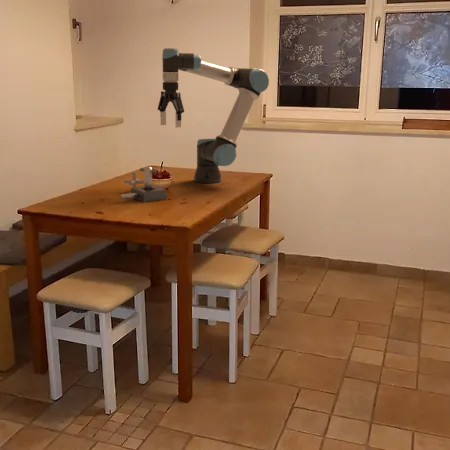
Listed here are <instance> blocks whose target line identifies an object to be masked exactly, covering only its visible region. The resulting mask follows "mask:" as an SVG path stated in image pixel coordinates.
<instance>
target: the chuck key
mask: <svg viewBox="0 0 450 450" xmlns="http://www.w3.org/2000/svg"><path fill="white" fill-rule="evenodd" d="M139 171H140V172H143V175H144V176H143V180H144V187H145V190H152V186H153V173H157V169H156V168H155V169H154V168H153V167H152V166H143V167H140V168H139Z"/></svg>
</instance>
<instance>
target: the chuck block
mask: <svg viewBox="0 0 450 450" xmlns="http://www.w3.org/2000/svg"><path fill="white" fill-rule="evenodd" d="M120 199H121V200H122V201H123V200H130V199H134V200H137V201H140V202H143V203H148V202H154V201H163V200H167V189H165V188H162V187H159V186H156V185H152V190H145V186H139V187H137V186H136V188H133V187H131V188H130V192H129V193H122V194H120Z"/></svg>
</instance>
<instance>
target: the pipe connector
mask: <svg viewBox="0 0 450 450" xmlns="http://www.w3.org/2000/svg"><path fill="white" fill-rule="evenodd" d="M131 172H132V177H131V178H132V179H131V178H130V179H127V178H125V179H124V181H123V182H124V184H129V186H132V188H136V187H137V184H138V185H139V184H140V185H145V183H144V179H143V180H141V179H140V178H137V171H131Z"/></svg>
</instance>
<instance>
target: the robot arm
mask: <svg viewBox="0 0 450 450" xmlns="http://www.w3.org/2000/svg"><path fill="white" fill-rule="evenodd" d="M161 57H162V58H161V59H162V90H163V91H160V98H159V102H158V106H157V110H158V111H159V112H160V126H167V111H166V109H167V108H168V105H169V103H171V104H172V106H173V108H174V111H175V118H174V119H175V128H182V114H183V113H185V108H184V105H183V102H182V101H183V100H182V96H181V95H182V94H181V92H177V91H178V90H179V82H178V81H179V71H181V72H182V71H183V72H186V73H189V74H193V75H198V76H201V77H204V78H207V79H212V80H215V81H219V82H222V83H224V85H226V86H230V87H233V88H234V89H237V90H238V92H239V93H238V95H237V97H236V99H235V101H234V104H233V106H232V109H231V111H230V113H229V115H228V117H227V120H226V121H225V124H224V126H223V128H222V131H221V133H220V134H219V135H217V136H216V137H215V138H200V139H198V140H197V142H196V169H195V172H194V175H193V182H195V183H202V184H216V183H220V182H222V176H221V175H222V174H221V171H220V168H219V166H220V167H228V166H230V165H232V164H233V163H234V162H235V160H236V158H237V150H236V148H237V146H238V145H237V142H236V141H237V140H238V136H239V135H240V133H241V130H242V128H243V126H244V124H245V121H246V119H247V117H248V115H249V113H250V110H251V108H252V106H253V103H254V101H255V100H257V99H259V97H260V95H261V94H262V93H263V92H265V91H266V90H268V88H269V85H270V84H269V83H270V79H269V75H268V74H267V72H266V71H265V70H264V69H262V68H257V67H253V68H247V67H245V68H243V67H242V68H241V67H240V68H239V67H238V68H237V67H234V66H233V67H232V66H229V67H225V66H222V65H218V64H215V63H211V62H208V61H205V60H202V57H201V55H200V54H199V53H193V52H191V53H190V52H189V53H188V52H186V53H184V52H183V53H182V52H179V49H178V48H175V47H174V48H169V47H168V48H167V47H166V48H163V50H162V54H161Z"/></svg>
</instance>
